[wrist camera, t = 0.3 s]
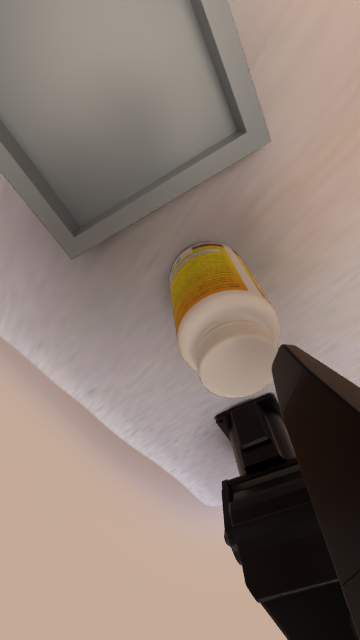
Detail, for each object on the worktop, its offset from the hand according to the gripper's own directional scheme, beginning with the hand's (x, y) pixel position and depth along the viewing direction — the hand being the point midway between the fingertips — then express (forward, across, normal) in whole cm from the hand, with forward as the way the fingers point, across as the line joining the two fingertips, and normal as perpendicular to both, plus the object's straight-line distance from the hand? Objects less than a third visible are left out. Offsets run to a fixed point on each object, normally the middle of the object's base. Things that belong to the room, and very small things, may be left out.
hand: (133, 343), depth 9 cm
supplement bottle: (+14, -5, +3) cm, 15 cm away
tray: (+13, +3, -7) cm, 15 cm away
